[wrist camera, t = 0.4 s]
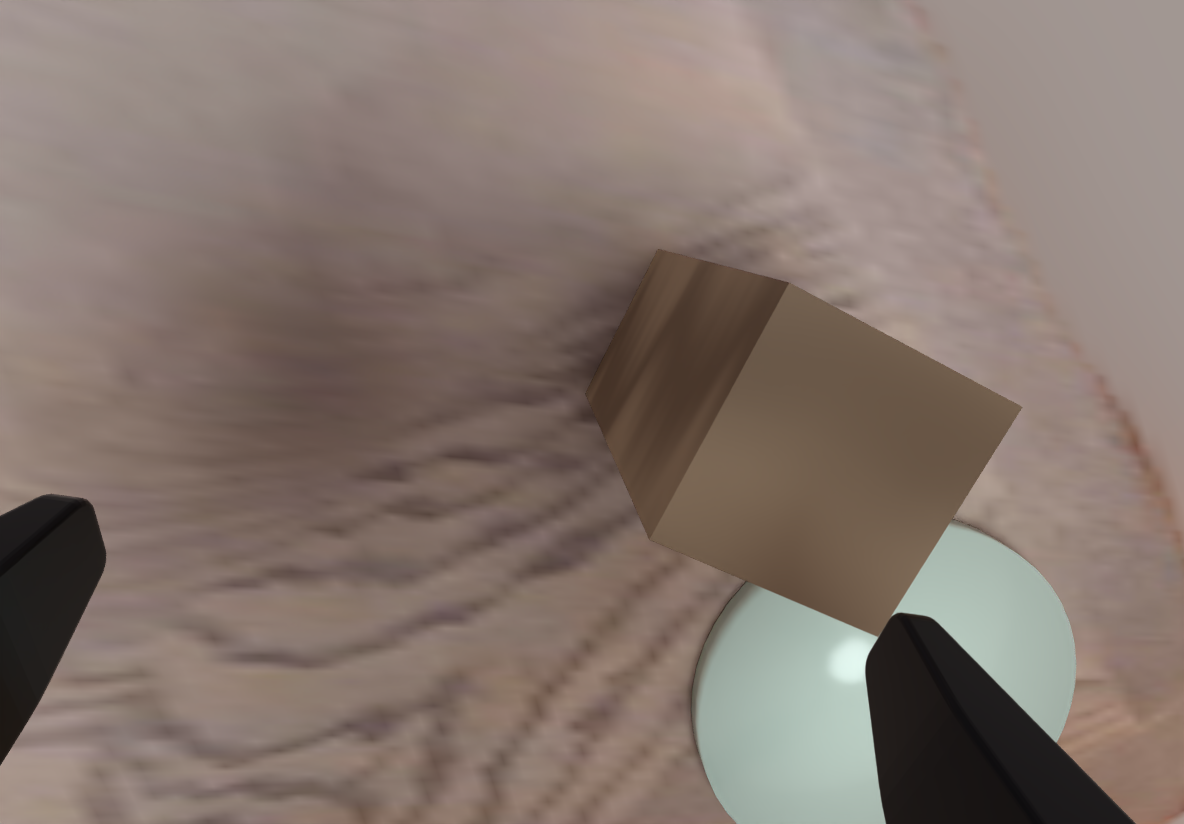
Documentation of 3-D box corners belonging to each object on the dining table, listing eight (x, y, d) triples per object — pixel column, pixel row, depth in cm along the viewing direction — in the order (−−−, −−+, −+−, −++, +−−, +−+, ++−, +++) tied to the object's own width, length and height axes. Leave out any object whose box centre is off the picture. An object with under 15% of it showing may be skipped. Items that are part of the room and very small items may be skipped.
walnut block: (719, 456, 25) (878, 636, 14) (585, 393, 24) (649, 540, 13) (794, 320, 24) (1022, 406, 13) (658, 249, 23) (789, 283, 12)
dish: (865, 898, 31) (879, 925, 30) (612, 721, 27) (616, 744, 26) (1122, 657, 29) (1148, 676, 28) (888, 434, 25) (906, 444, 24)
